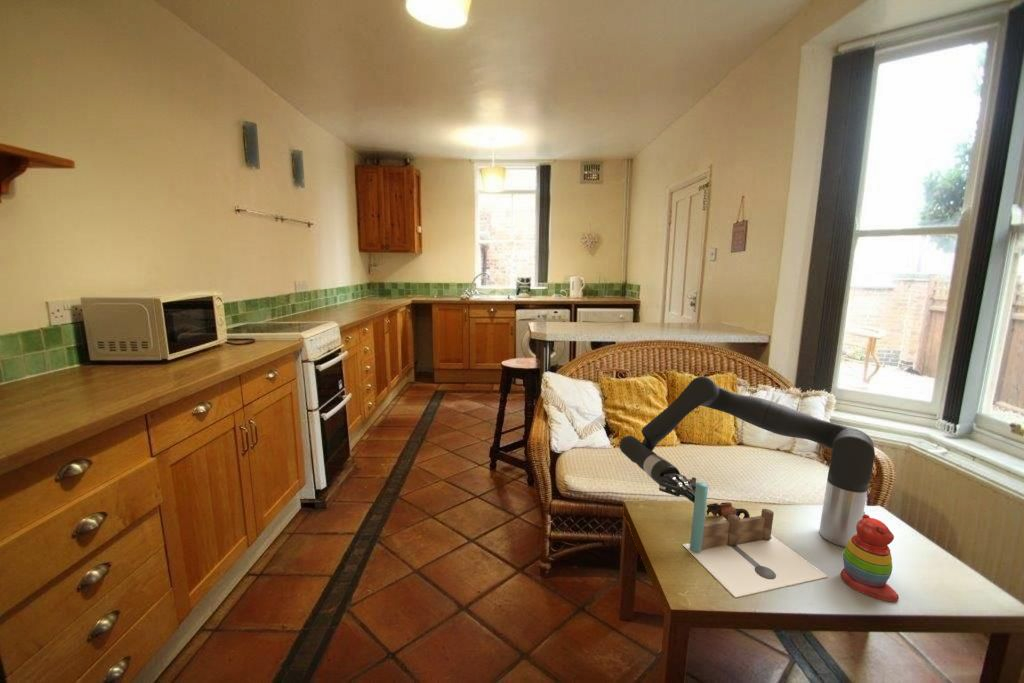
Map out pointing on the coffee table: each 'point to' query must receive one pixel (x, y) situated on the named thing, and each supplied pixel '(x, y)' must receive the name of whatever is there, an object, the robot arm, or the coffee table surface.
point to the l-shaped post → (706, 524)
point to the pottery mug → (726, 510)
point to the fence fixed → (750, 528)
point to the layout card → (756, 566)
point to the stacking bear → (869, 560)
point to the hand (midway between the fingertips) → (697, 499)
